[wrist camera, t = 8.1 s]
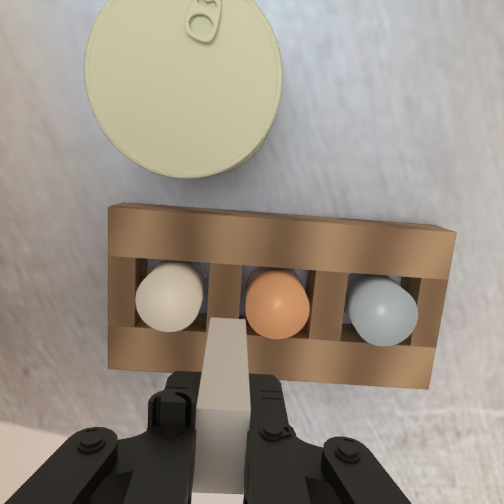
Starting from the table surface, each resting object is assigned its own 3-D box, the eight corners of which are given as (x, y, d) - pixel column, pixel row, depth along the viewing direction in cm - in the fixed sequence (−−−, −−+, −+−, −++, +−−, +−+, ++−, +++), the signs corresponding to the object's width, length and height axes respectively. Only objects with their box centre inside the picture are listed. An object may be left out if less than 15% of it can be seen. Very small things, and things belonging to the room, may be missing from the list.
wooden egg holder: (122, 348, 34) (107, 368, 30) (123, 202, 31) (107, 207, 28) (410, 367, 34) (428, 389, 31) (434, 225, 32) (456, 232, 28)
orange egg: (244, 313, 33) (243, 337, 29) (248, 260, 32) (247, 276, 28) (298, 317, 33) (306, 341, 29) (304, 264, 32) (312, 280, 28)
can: (289, 69, 30) (316, 6, 18) (246, 191, 31) (244, 207, 20) (166, 21, 29) (109, -77, 17) (129, 148, 31) (55, 139, 19)
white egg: (150, 307, 33) (134, 329, 28) (151, 253, 32) (135, 268, 28) (205, 310, 33) (198, 334, 29) (208, 257, 32) (201, 272, 28)
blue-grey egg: (336, 319, 33) (350, 344, 29) (343, 267, 32) (358, 283, 28) (390, 323, 33) (412, 348, 29) (398, 271, 32) (422, 288, 28)
